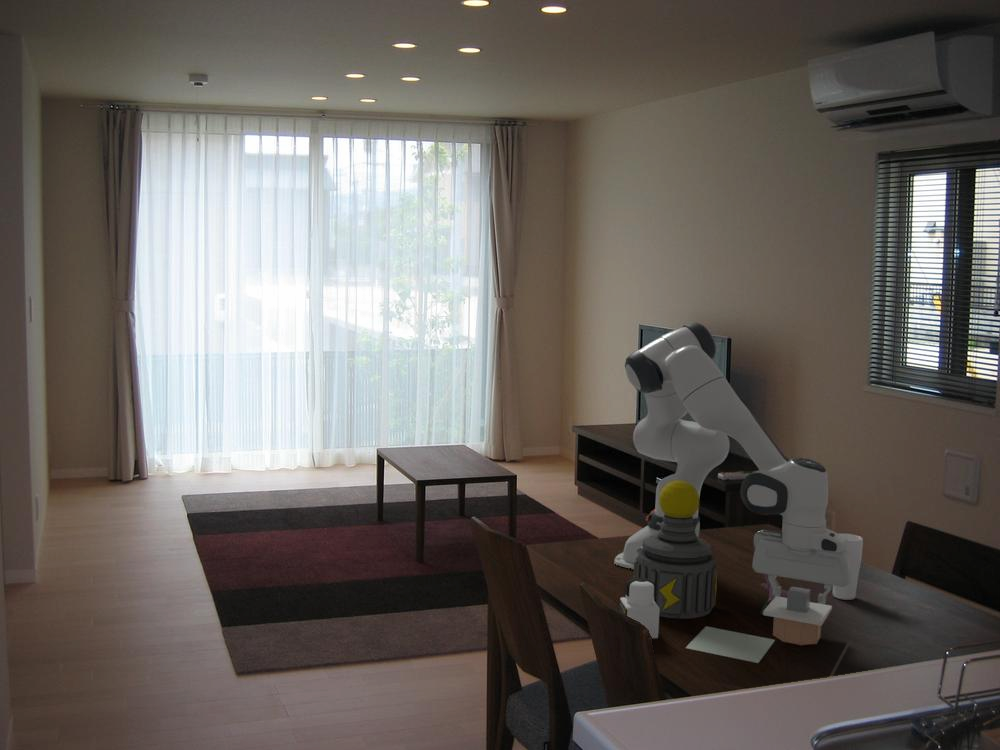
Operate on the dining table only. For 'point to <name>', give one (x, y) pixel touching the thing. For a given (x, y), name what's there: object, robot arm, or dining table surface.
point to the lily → (771, 596)
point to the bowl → (796, 631)
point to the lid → (798, 607)
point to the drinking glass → (855, 554)
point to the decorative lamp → (679, 558)
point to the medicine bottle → (641, 604)
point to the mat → (731, 644)
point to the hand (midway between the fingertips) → (798, 599)
